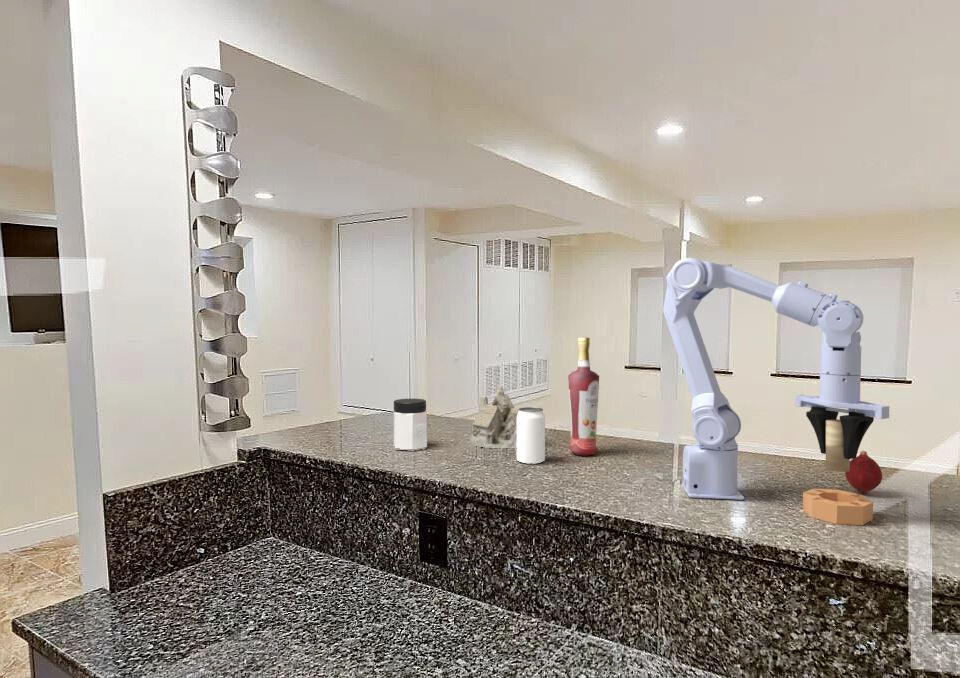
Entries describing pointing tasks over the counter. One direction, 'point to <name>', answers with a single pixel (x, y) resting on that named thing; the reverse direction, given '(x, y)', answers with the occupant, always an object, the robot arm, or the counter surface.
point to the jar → (410, 423)
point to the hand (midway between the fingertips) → (838, 455)
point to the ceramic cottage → (495, 423)
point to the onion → (864, 473)
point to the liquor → (583, 403)
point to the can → (530, 435)
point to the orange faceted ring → (838, 506)
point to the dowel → (835, 447)
